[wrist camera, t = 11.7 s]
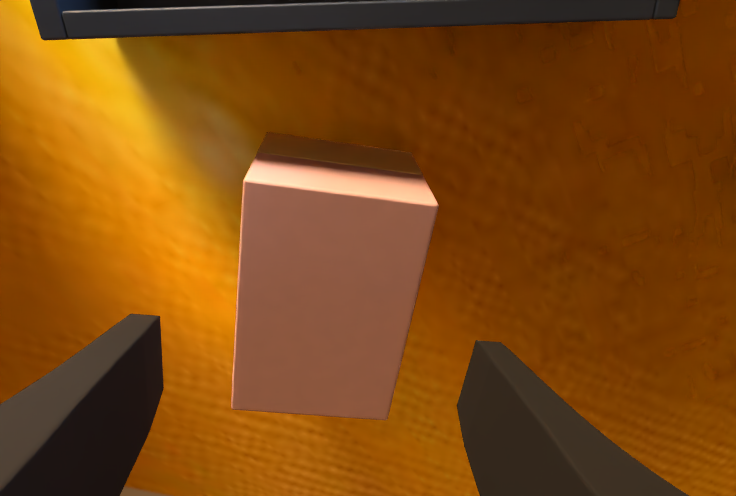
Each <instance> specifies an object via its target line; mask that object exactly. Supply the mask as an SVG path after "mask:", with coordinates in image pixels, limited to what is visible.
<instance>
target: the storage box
mask: <svg viewBox="0 0 736 496" xmlns="http://www.w3.org/2000/svg"><path fill="white" fill-rule="evenodd" d="M30 2H31V6H32V9H33V12H34V16H35V19H36V22H37V26H38V29H39V32H40V36H41V38H42V39H43V40H66V39H95V38H124V37H154V36H183V35H212V34H241V33H271V32H300V31H329V30H359V29H388V28H417V27H446V26H476V25H505V24H534V23H564V22H593V21H622V20H649V19H673V18H675V17H676V15H677V11H678V6H679V2H680V0H30Z"/></svg>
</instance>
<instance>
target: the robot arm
mask: <svg viewBox="0 0 736 496" xmlns="http://www.w3.org/2000/svg"><path fill="white" fill-rule="evenodd" d="M163 388H164V387H163V367H162V348H161V328H160V316H153V315H140V314H130V315H128V316H127V317H126V318H124V319H123V320H121V321H120V322H119V323H117V324H116V325H115V326H113V327H112V328H111V329H109V330H108V331H106V332H105V333H104V334H102V335H101V336H100V337H98V338H97V339H96V340H94V341H93V342H92V343H90V344H89V345H88V346H86V347H85V348H83V349H82V350H81V351H79V352H78V353H77V354H75V355H74V356H72V357H71V358H70V359H68V360H67V361H65V362H64V363H63V364H61V365H60V366H58V367H57V368H55V369H54V370H53V371H51V372H50V373H48V374H46V375H45V376H43V377H42V378H40V379H39V380H37V381H36V382H34V383H33V384H31V385H30V386H28V387H27V388H25V389H23V390H22V391H20V392H19V393H17V394H16V395H14V396H13V397H11V398H10V399H8V400H7V401H5V402H3V403H2V404H0V496H120V494H121V492H122V489H123V487H124V485H125V483H126V481H127V479H128V477H129V475H130V472H131V470H132V468H133V466H134V464H135V462H136V460H137V457H138V455H139V453H140V451H141V449H142V447H143V445H144V442H145V440H146V438H147V436H148V433H149V431H150V429H151V426H152V423H153V420H154V417H155V414H156V411H157V407H158V404H159V401H160V398H161V395H162V391H163ZM457 409H458V415H459V421H460V427H461V432H462V437H463V442H464V447H465V450H466V453H467V457H468V460H469V463H470V466H471V469H472V472H473V476H474V479H475V482H476V485H477V488H478V491H479V494H480V496H689V495H687V494H686V493H684V492H682V491H681V490H679V489H678V488H676V487H675V486H673V485H672V484H670V483H669V482H667V481H666V480H664V479H663V478H661V477H660V476H658V475H657V474H655V473H654V472H653V471H651V470H650V469H648V468H647V467H646V466H644V465H643V464H642V463H640V462H639V461H637V460H636V459H635V458H633V457H632V456H631V455H629V454H628V453H627V452H625V451H624V450H622V449H621V448H620V447H619V446H617V445H616V444H615V443H613V442H612V441H611V440H610V439H608V438H607V437H606V436H605V435H604V434H602V433H601V432H600V431H599V430H598V429H596V428H595V427H594V426H593V425H591V424H590V423H589V422H588V421H587V420H585V419H584V418H583V417H582V416H581V415H580V414H579V413H577V412H576V411H575V410H574V409H573V408H572V407H571V406H569V405H568V404H567V403H566V402H565V401H564V400H563V399H562V398H561V397H559V396H558V395H557V394H556V393H555V392H554V391H553V390H552V389H551V388H550V387H549V386H548V385H547V384H545V383H544V382H543V381H542V380H541V379H540V378H539V377H538V376H537V375H536V374H535V373H534V372H533V371H532V370H531V369H530V368H529V367H527V366H526V365H525V364H524V363H523V362H522V361H521V360H520V359H519V358H518V357H517V356H516V355H515V354H514V353H513V352H511V351H510V350H509V349H508V348H507V347H506V346H505V345H503V344H502V343H501V342H491V341H478V340H476V342H475V346H474V349H473V353H472V356H471V359H470V363H469V366H468V370H467V373H466V376H465V380H464V383H463V387H462V390H461V393H460V397H459V400H458V404H457Z"/></svg>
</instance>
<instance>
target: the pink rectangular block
mask: <svg viewBox="0 0 736 496" xmlns="http://www.w3.org/2000/svg"><path fill="white" fill-rule="evenodd" d="M438 207H439V206H438V203H437V201H436V199H435V197H434V195H433V194H432V192H431V190H430V188H429V186H428V184H427V182H426V180H425V178H424V176H423V174H422V172H421V170H420V168H419V166H418V164H417V162H416V160H415V158H414V157H413V155H412V153H411V152H404V151H397V150H390V149H384V148H377V147H370V146H363V145H356V144H349V143H342V142H335V141H328V140H321V139H314V138H307V137H300V136H293V135H286V134H279V133H272V132H267V133H266V135H265V137H264V139H263V141H262V143H261V145H260V147H259V149H258V151H257V154H256V156H255V158H254V160H253V162H252V164H251V166H250V168H249V170H248V172H247V174H246V176H245V178H244V181H243V193H242V212H241V230H240V249H239V268H238V286H237V305H236V324H235V342H234V361H233V380H232V398H231V408H232V409H235V410H249V411H263V412H277V413H291V414H305V415H319V416H334V417H348V418H362V419H376V420H387V419H388V415H389V411H390V407H391V403H392V398H393V394H394V390H395V386H396V382H397V378H398V374H399V369H400V365H401V361H402V357H403V353H404V349H405V344H406V340H407V336H408V332H409V328H410V324H411V320H412V315H413V311H414V307H415V303H416V299H417V295H418V290H419V286H420V282H421V278H422V274H423V270H424V266H425V261H426V257H427V253H428V249H429V245H430V241H431V236H432V232H433V228H434V224H435V220H436V216H437V212H438Z"/></svg>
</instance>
